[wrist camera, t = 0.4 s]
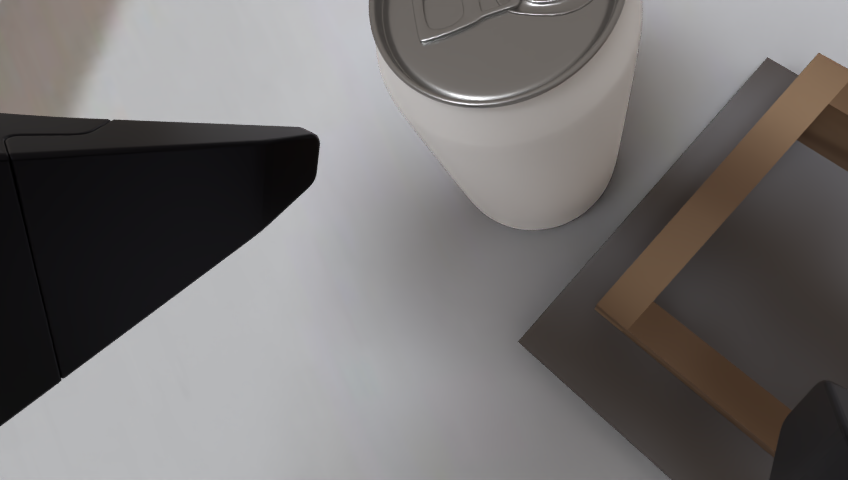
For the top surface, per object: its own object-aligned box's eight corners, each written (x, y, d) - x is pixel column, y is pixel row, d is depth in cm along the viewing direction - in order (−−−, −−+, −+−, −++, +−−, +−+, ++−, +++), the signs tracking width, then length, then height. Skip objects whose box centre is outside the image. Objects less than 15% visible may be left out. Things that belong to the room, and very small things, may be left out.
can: (632, 215, 22) (689, 79, 10) (472, 246, 23) (368, 158, 12) (597, 67, 23) (614, -197, 12) (448, 106, 25) (335, -94, 13)
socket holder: (827, 616, 18) (893, 690, 14) (520, 341, 22) (508, 342, 18) (1134, 291, 17) (1290, 278, 13) (759, 69, 21) (797, 11, 18)
